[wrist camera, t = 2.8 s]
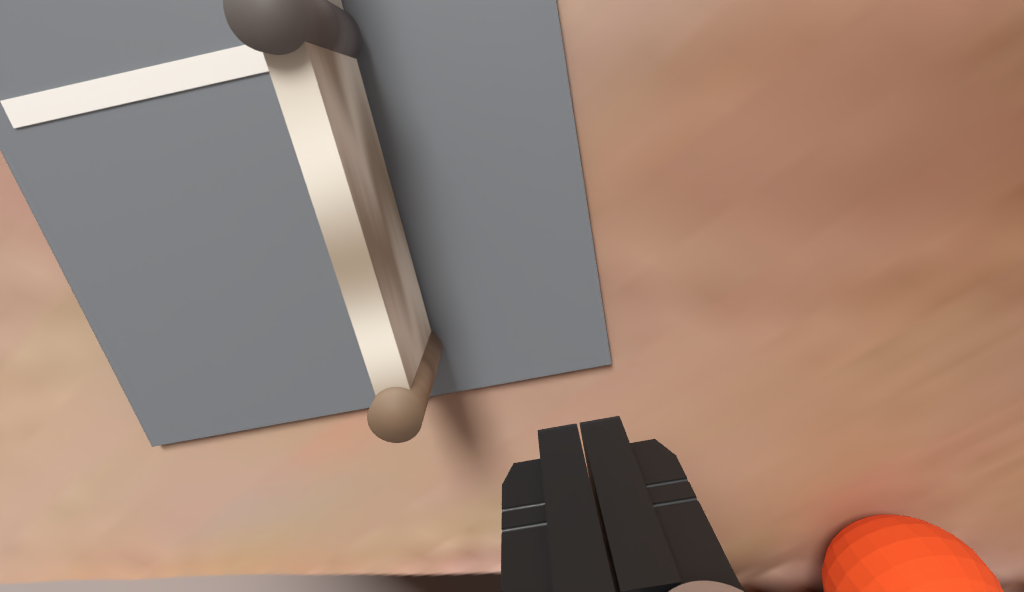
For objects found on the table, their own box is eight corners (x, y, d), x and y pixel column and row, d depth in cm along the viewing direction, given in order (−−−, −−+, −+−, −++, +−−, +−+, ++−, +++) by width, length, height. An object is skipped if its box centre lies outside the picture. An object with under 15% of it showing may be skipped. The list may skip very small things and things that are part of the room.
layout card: (457, -635, 14) (456, -660, 13) (609, 360, 24) (612, 365, 23) (-273, -410, 15) (-298, -426, 15) (157, 441, 25) (150, 447, 25)
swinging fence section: (297, 13, 18) (210, -27, 13) (352, 0, 18) (287, -45, 13) (404, 369, 23) (373, 447, 18) (449, 361, 23) (430, 437, 17)
